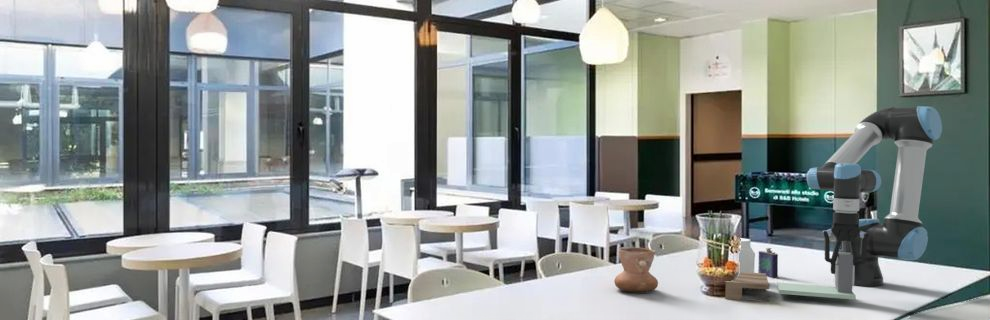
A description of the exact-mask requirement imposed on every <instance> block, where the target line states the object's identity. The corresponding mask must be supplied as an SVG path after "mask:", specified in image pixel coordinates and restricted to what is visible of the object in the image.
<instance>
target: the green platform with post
mask: <svg viewBox="0 0 990 320" xmlns="http://www.w3.org/2000/svg"><path fill="white" fill-rule="evenodd" d="M836 263H837V264H838V285H835V286H830V285H817V284H803V283H802V284H801V283H788V282H787V283H786V282H779V281H778V282H776V288H777V290H778V294H781V295H793V296H794V295H795V296H804V297H805V296H806V297H816V298H817V297H820V298H829V299H830V298H831V299H846V300H856V294H855V293H854V292H853V286H852V279H853V255H852V254H851V253H847V252H842V251H839V252H838V256H837V260H836Z"/></svg>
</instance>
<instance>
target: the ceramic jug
mask: <svg viewBox="0 0 990 320" xmlns="http://www.w3.org/2000/svg"><path fill="white" fill-rule="evenodd" d="M618 256H619V260H620V263H621V266H622V268H623V271H622V272H619V274H617V275H616V276H615V277H614V281H613V282H614V285H615V287H616V288H618V290H621V291H623V292H625V293H632V294H645V293H650V292H652V291H654V290H656V289H657V288H658V285H659V280H658V279H657V278H656V276H654V275H653V274H652V273H650V269H651V267H652V265H653V261H654V259H655V256H656V250H654V249H650V248H645V247H639V246H638V247H636V246H628V247H626V246H624V247H619V248H618Z"/></svg>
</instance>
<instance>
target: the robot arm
mask: <svg viewBox="0 0 990 320" xmlns="http://www.w3.org/2000/svg"><path fill="white" fill-rule="evenodd" d="M942 132H943V124H942V119H941V116H940V113H939V112H938V110H937V109H936V108H934V107H933V106H921V105H917V106H916V105H915V106H900V107H898V106H896V107H894V106H892V107H890V106H889V107H885V108H882V109H879V110H876V111H874V112H873V113H871V114H869V115H868V116H866V117H865V118H863V119H862V120H861V121H860V122H859V123H858V124H857V125H856V126H855V128H854V132H853V133H852V134H851V136H850V137H848V139H847V140H845V142H844V143H843V144H842V145H841V146H840V147H839V148H838V149H837V150H836V151H835V152H834V154H833V155H831V156H830V158H828V160H827V161H825V163H824V164H823V165H822V166H821V167H819V166H818V167H817V166H816V167H811V168H809V170H807V173H806V182H807V186H808V187H809V188H810V189H812V190H820V191H833V201H832V203H833V204H832V205H833V206H832V210H833V211H834V212H832V225H831V228H828V229H827V230H825V229H824V230H822V231H821V232H822V235H823V237H824V260H825V261H826V263H829V264H830V273H831V274H832V275H833V284H834V285H835V286H836V285H838V264H837V263H836V260H837V256H838V252H840V247H841V246H842V251H841V252H847V253H851V254H852V255H853V279H852V287H855V286H861V287H879V286H883V285H884V276H883V273H882V270H881V267H880V264H879V257H883V258H890V259H897V260H901V261H906V260H907V261H915V260H918V259H920V258H921V256H922V255H923V254H924V253H925V251H926V250H927V246H928V242H929V241H928V240H929V236H928V231H927V230H926V228H924V227H923V222H922V221H921V220H920V219H919V211H920V210H919V209H920V202H921V196H922V188H923V180H924V174H925V173H924V172H925V166H926V156H927V151H928V149H931V148H932V147H933V143H934V141H936V140H938V139H940V137H941V136H942ZM885 140H894V142H893V143H894V144H895V145H896V146H897V148H898V149H897V155H896V157H897V158H896V165H895V172H894V178H893V187H892V194H891V202H890V209H889V213H888V214H887V215H886V216H885V217H884V218H883V223H881V221H880V219H879V218H860V213H858V212H859V211H860V198H861V197H860V196H861V195H860V193H861V194H862V193H868V194H869V193H873V192H876V191H877V190H879V189H880V187H881V185H882V178H881V175H880V174H879V172H878V171H876V170H873V169H869V168H865V169H861V168H862V167H861V166H860V164H859V163H858V162H860V161H861V159H862V158H863V157H864V156H865V155H866V153H867V152H868V151H869V150H870V149H871V148H872V147H873V146H877V145H878V144H879V143H881V142H882V141H885ZM832 235H834V237H835V243H834V247H833V251H832V255H830V252H831V251H830V244H831V243H830V237H831V236H832Z"/></svg>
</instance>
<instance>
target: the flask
mask: <svg viewBox="0 0 990 320" xmlns="http://www.w3.org/2000/svg"><path fill="white" fill-rule="evenodd" d="M771 249H772V247H767V248H766V247H765V250H766V251H765V250H758V270H757V273H765V274H766V275H767V277H768V276H769V277H768V278H771V279H779V278H778V276H779V275H778V273H779V272H778V271H779V270H778V267H779V266H778V263H779V262H778V259H779V258H778V257H779V254H778V253H776V252H775V251H774V252H773V251H772V250H771Z"/></svg>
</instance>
